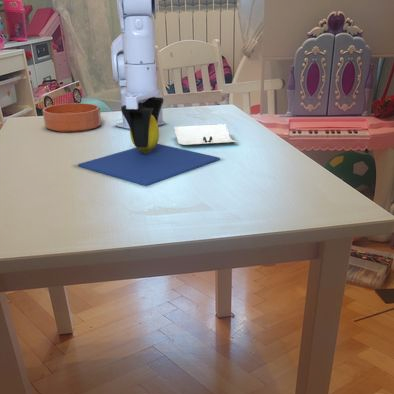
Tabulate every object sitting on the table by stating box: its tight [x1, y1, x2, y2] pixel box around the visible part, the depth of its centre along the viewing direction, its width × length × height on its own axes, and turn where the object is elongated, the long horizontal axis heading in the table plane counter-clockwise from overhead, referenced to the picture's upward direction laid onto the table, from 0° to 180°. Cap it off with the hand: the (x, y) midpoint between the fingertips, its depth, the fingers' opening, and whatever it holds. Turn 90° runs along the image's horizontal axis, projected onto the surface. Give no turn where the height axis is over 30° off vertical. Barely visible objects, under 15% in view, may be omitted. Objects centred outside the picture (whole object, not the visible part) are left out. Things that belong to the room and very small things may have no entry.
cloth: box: [77, 143, 221, 187], centre depth 93 cm, size 20×18×1 cm
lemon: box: [129, 114, 160, 154], centre depth 95 cm, size 6×6×8 cm
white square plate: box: [173, 123, 240, 146], centre depth 106 cm, size 12×12×2 cm
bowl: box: [42, 102, 102, 133], centre depth 117 cm, size 13×13×4 cm
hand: (145, 142), depth 96 cm, fingers closed on lemon, 6 cm apart
